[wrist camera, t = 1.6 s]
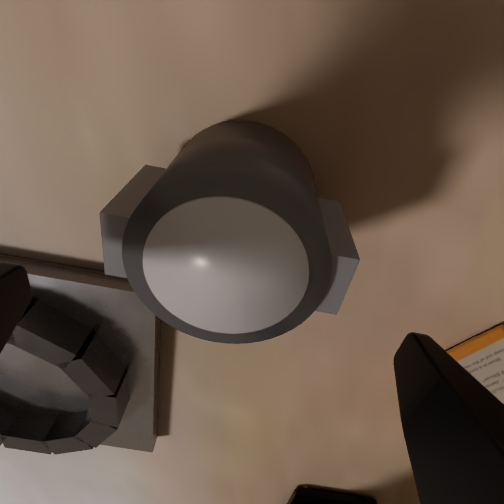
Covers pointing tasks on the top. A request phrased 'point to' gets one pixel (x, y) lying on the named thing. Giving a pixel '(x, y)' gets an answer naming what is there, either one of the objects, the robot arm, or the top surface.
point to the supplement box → (484, 359)
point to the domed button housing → (230, 237)
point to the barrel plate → (113, 326)
